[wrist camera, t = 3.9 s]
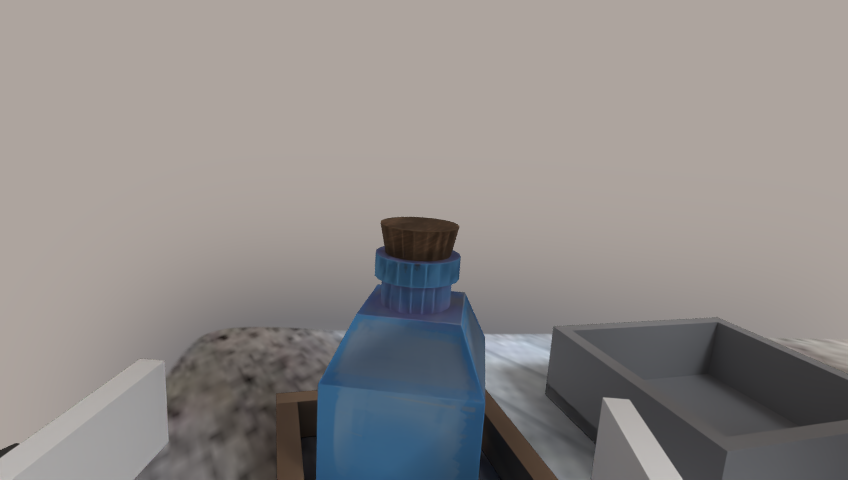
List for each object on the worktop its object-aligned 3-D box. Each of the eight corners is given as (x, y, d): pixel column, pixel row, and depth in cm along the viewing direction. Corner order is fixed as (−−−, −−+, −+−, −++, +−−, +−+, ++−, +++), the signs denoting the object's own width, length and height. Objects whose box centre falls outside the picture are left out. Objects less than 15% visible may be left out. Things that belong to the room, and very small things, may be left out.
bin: (705, 378, 35) (717, 317, 34) (922, 505, 24) (949, 417, 23) (545, 393, 32) (553, 326, 31) (706, 553, 20) (727, 451, 19)
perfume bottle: (354, 437, 26) (362, 207, 24) (474, 452, 25) (495, 217, 23) (315, 527, 20) (320, 231, 18) (471, 550, 19) (499, 245, 17)
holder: (472, 408, 29) (475, 376, 29) (580, 561, 19) (586, 515, 19) (276, 428, 26) (276, 393, 26) (278, 624, 16) (278, 570, 16)
